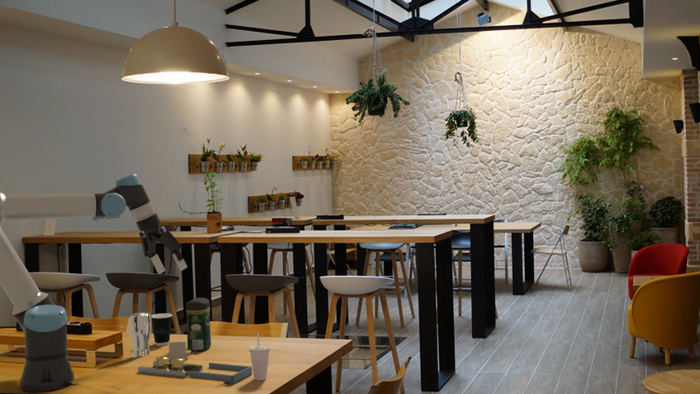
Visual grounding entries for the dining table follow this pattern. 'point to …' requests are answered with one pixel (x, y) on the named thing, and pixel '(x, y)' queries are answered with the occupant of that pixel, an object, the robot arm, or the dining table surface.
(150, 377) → the dining table surface
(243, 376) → the blue-grey rectangular frame
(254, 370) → the smoothie
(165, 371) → the slot plate
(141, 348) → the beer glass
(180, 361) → the gold rounded cube
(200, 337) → the coffee jar
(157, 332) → the dixie cup
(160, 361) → the gold rounded block
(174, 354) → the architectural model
